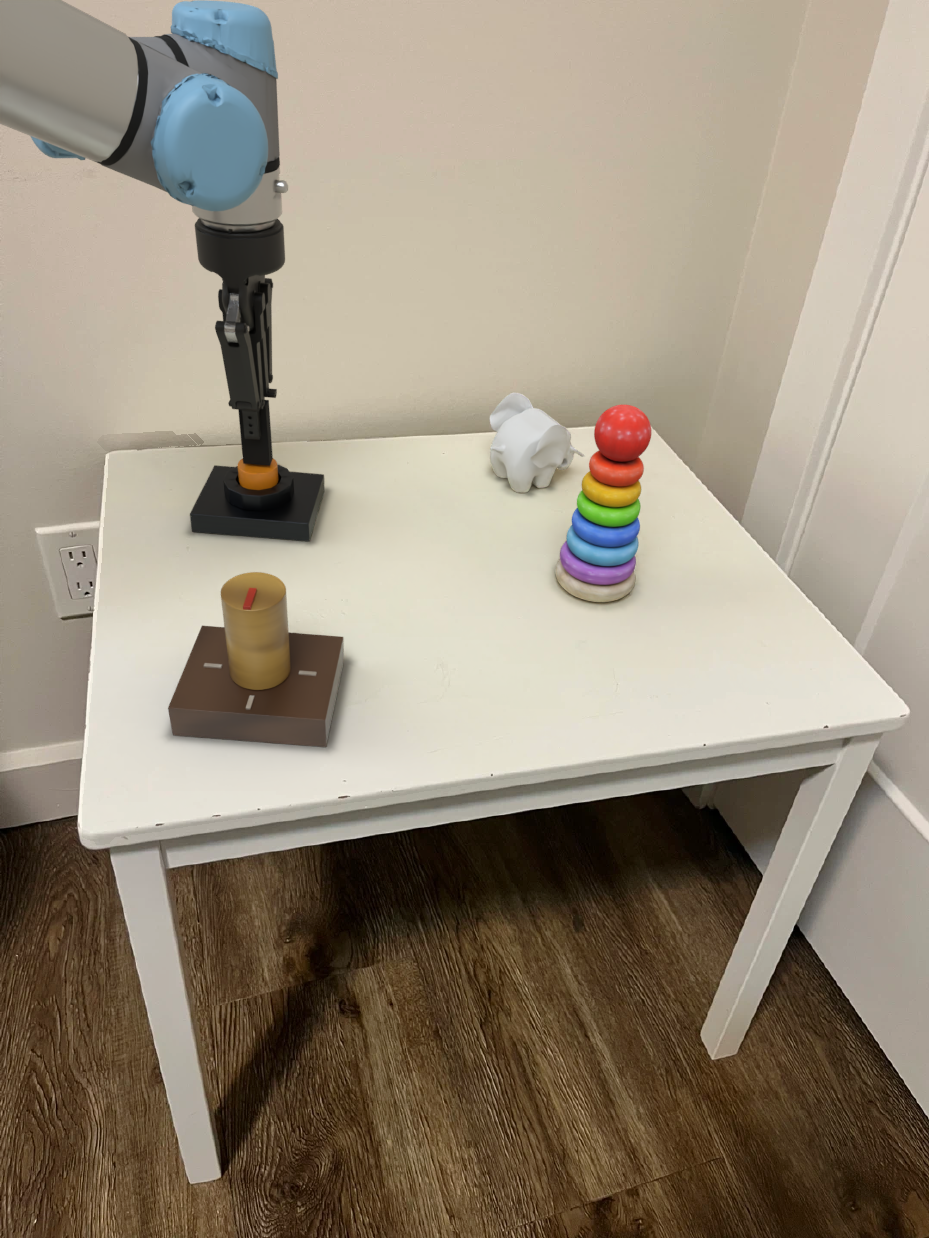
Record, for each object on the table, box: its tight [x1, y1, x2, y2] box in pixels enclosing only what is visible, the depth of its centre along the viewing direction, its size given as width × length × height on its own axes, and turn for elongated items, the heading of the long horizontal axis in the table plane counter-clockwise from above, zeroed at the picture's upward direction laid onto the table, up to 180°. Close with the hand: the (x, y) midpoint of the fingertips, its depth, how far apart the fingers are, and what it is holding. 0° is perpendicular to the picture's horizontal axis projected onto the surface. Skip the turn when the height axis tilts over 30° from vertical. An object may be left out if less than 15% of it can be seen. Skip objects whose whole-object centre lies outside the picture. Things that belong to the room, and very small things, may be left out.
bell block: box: [189, 463, 325, 542], centre depth 96 cm, size 12×10×4 cm
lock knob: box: [220, 571, 291, 690], centre depth 71 cm, size 5×5×8 cm
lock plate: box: [167, 625, 345, 748], centre depth 74 cm, size 12×10×3 cm
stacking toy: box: [555, 404, 652, 603], centre depth 86 cm, size 8×8×19 cm
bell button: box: [237, 457, 278, 490], centre depth 94 cm, size 4×4×2 cm
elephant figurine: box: [489, 391, 586, 494], centre depth 104 cm, size 10×12×9 cm
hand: (258, 460), depth 93 cm, fingers closed
